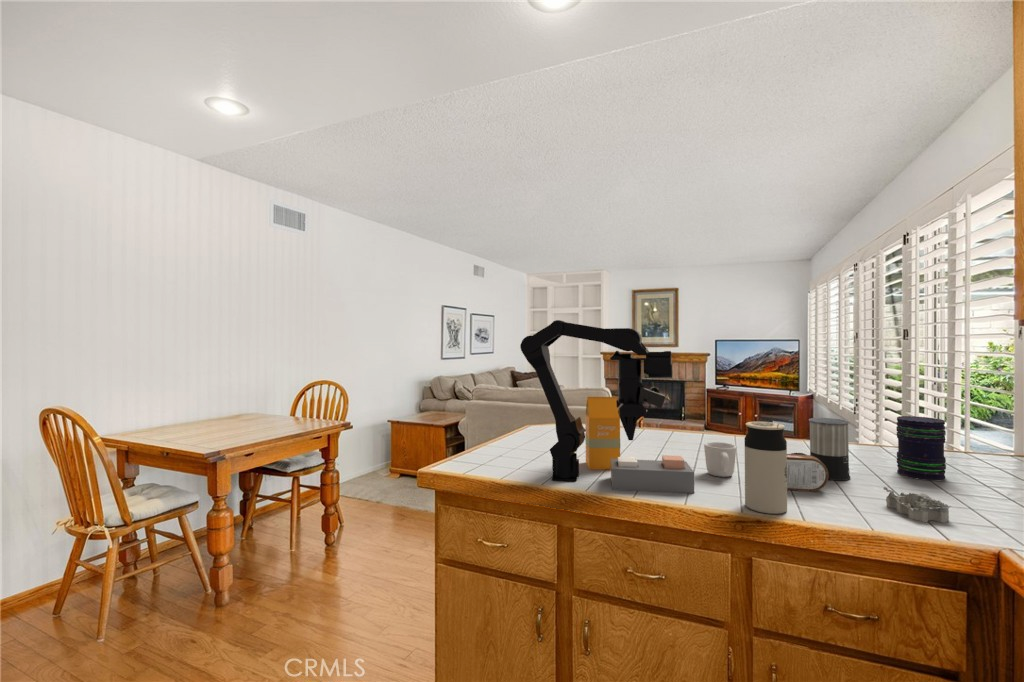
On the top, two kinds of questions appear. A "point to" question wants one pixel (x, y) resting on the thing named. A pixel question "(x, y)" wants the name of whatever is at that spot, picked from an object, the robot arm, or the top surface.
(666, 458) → the terracotta key
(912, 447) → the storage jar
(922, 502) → the egg carton
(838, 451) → the milk frother
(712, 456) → the cup
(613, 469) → the key console
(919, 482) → the top surface
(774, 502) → the travel mug
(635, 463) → the cream key
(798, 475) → the tin
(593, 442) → the orange juice
